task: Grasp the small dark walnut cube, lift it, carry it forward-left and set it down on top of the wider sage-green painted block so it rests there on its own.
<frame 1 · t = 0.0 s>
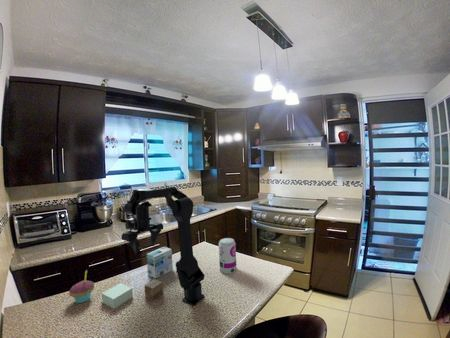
hand: (144, 249, 100), 15 cm above the countertop, fingers open, 9 cm apart
light bulb box: (160, 272, 107), on the countertop
sage block: (117, 300, 87), on the countertop
cupcake: (82, 300, 88), on the countertop
walnut cube: (154, 295, 89), on the countertop
supplement can: (228, 270, 106), on the countertop
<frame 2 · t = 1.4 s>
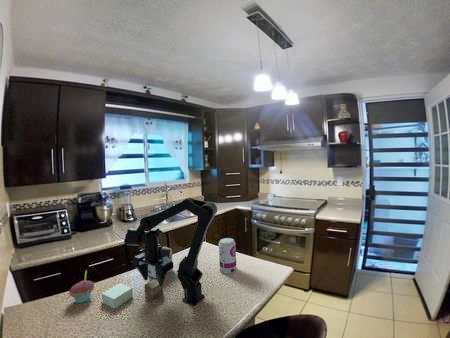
hand: (153, 282, 88), 5 cm above the countertop, fingers open, 9 cm apart
nothing on the countertop moved.
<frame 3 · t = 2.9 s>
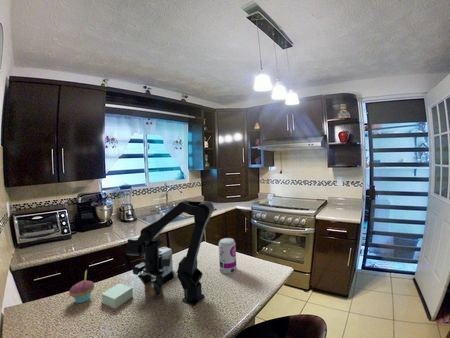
hand: (153, 292, 89), 1 cm above the countertop, fingers closed on walnut cube, 5 cm apart
walnut cube: (154, 295, 89), on the countertop, touching gripper
everything else where it was.
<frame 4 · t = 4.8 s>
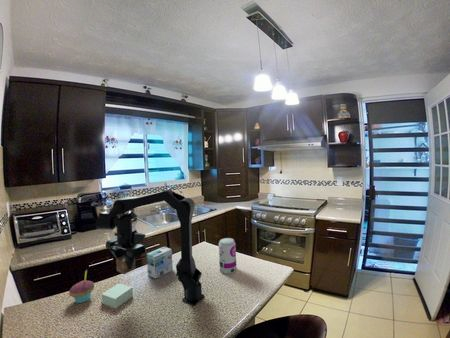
hand: (126, 267, 87), 13 cm above the countertop, fingers closed on walnut cube, 5 cm apart
walnut cube: (126, 269, 87), point 12 cm above the countertop, touching gripper
everything else where it was.
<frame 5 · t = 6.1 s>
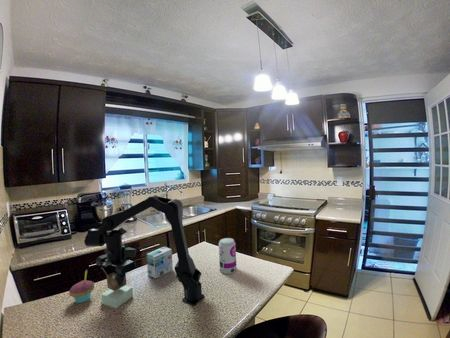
hand: (116, 283, 87), 7 cm above the countertop, fingers closed on walnut cube, 5 cm apart
walnut cube: (117, 286, 87), point 6 cm above the countertop, touching gripper
everything else where it was.
when the fingers open (6 cm above the countertop, at t = 7.0 s): walnut cube drops 1 cm, resting on sage block.
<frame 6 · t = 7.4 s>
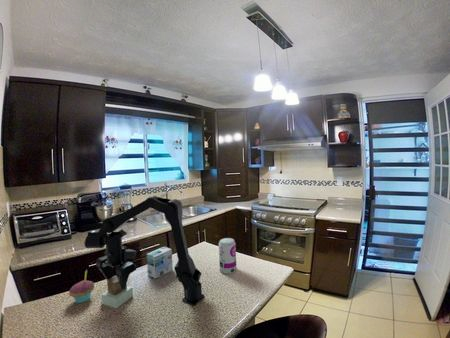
hand: (116, 285, 87), 6 cm above the countertop, fingers open, 9 cm apart
sage block: (117, 300, 87), on the countertop, touching walnut cube
walnut cube: (117, 290, 87), point 4 cm above the countertop, touching sage block
everything else where it was.
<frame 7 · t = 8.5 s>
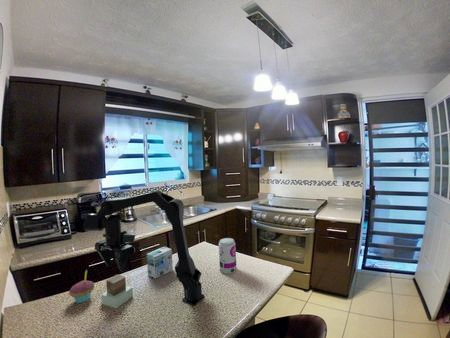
hand: (115, 268, 86), 13 cm above the countertop, fingers open, 9 cm apart
nothing on the countertop moved.
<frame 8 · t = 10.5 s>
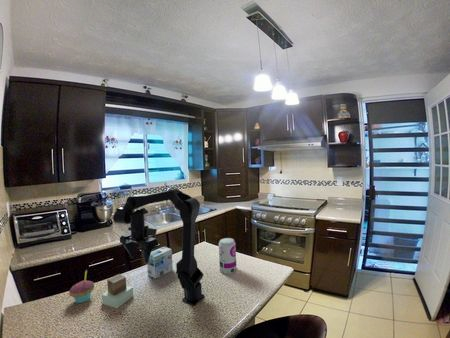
hand: (139, 260, 92), 13 cm above the countertop, fingers open, 9 cm apart
sage block: (118, 300, 87), on the countertop
walnut cube: (117, 290, 87), point 4 cm above the countertop
everything else where it was.
at the end: walnut cube 0.3 cm from the sage block (horizontally); walnut cube point 3.6 cm above the countertop; walnut cube tilted 0° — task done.
